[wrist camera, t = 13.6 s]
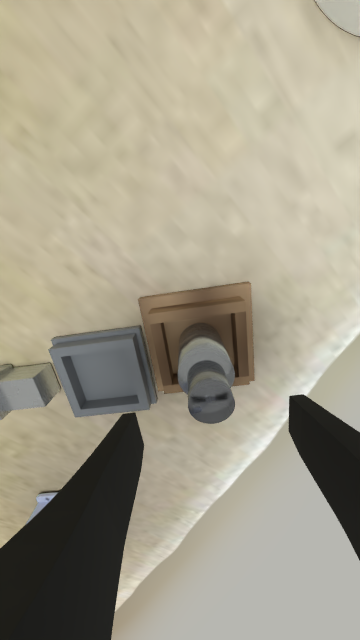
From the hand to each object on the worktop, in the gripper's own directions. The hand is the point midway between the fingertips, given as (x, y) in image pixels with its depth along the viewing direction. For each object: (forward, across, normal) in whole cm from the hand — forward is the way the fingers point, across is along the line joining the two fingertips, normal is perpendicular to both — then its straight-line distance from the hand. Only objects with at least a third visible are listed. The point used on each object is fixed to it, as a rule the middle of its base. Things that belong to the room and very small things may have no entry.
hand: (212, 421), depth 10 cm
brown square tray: (+9, 0, 0) cm, 9 cm away
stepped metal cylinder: (+8, 0, 0) cm, 9 cm away
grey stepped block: (+9, +17, +2) cm, 19 cm away
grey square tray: (+9, +9, +2) cm, 13 cm away
